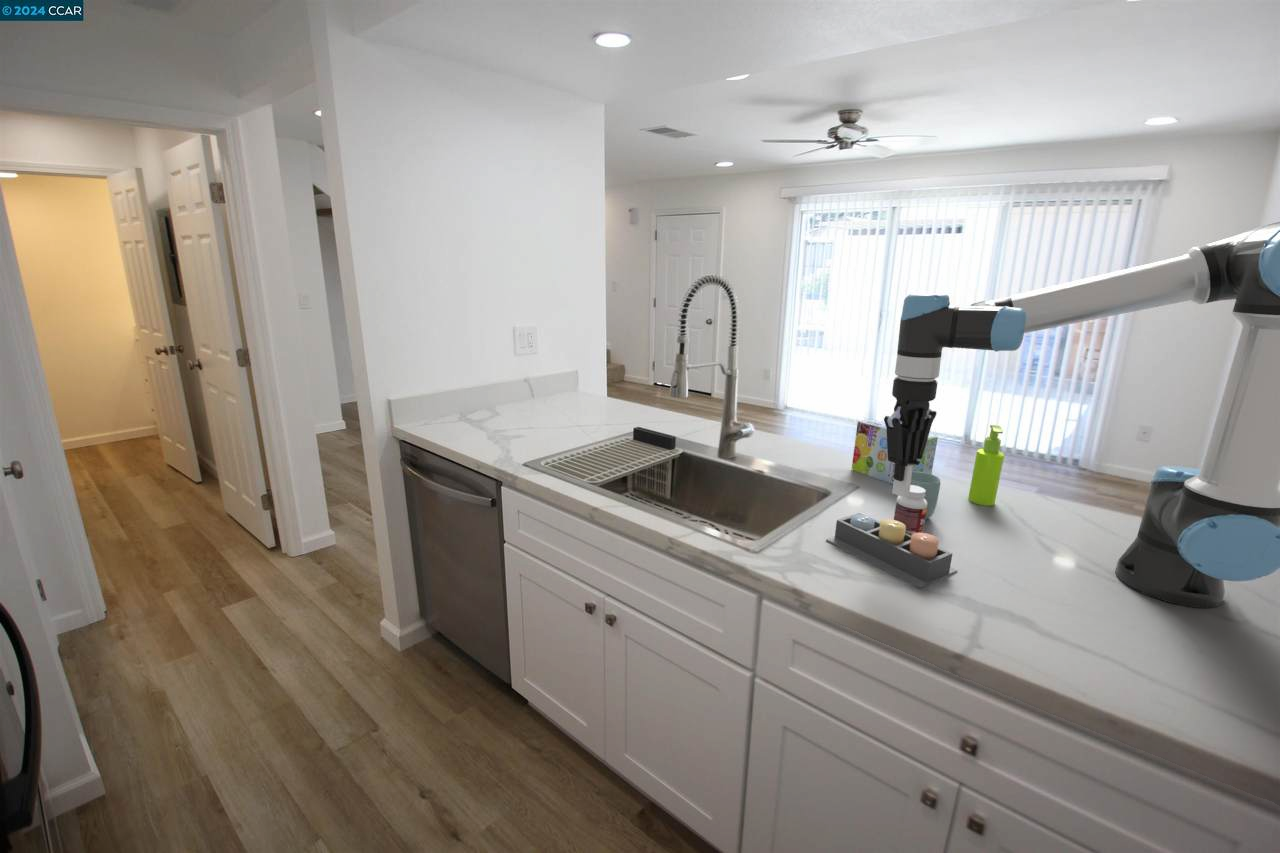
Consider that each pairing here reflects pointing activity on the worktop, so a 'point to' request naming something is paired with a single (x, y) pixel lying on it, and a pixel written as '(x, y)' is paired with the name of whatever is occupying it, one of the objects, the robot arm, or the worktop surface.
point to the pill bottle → (912, 510)
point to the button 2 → (892, 531)
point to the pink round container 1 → (924, 545)
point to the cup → (927, 489)
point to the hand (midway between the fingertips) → (900, 494)
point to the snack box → (883, 452)
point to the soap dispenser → (987, 470)
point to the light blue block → (862, 522)
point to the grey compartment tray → (891, 554)
